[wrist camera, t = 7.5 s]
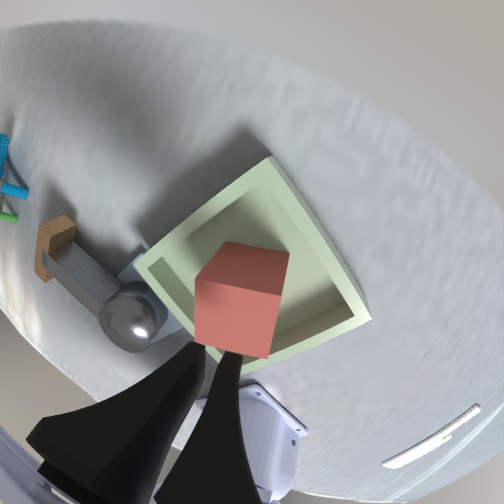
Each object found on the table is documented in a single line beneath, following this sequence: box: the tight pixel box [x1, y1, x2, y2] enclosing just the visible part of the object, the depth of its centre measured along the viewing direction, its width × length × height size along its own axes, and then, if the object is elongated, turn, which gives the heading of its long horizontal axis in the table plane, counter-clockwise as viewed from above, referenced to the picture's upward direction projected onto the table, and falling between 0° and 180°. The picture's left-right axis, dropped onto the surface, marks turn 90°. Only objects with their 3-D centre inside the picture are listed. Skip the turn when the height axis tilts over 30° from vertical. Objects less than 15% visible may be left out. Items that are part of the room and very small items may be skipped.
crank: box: [35, 214, 168, 353], centre depth 19 cm, size 12×5×3 cm, turn 57°
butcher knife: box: [382, 405, 481, 469], centre depth 22 cm, size 5×15×1 cm, turn 148°
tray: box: [133, 156, 372, 376], centre depth 17 cm, size 11×11×2 cm
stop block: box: [194, 241, 290, 360], centre depth 15 cm, size 4×4×5 cm
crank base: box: [115, 250, 184, 345], centre depth 21 cm, size 6×10×1 cm, turn 127°
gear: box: [0, 133, 29, 223], centre depth 18 cm, size 11×6×10 cm
